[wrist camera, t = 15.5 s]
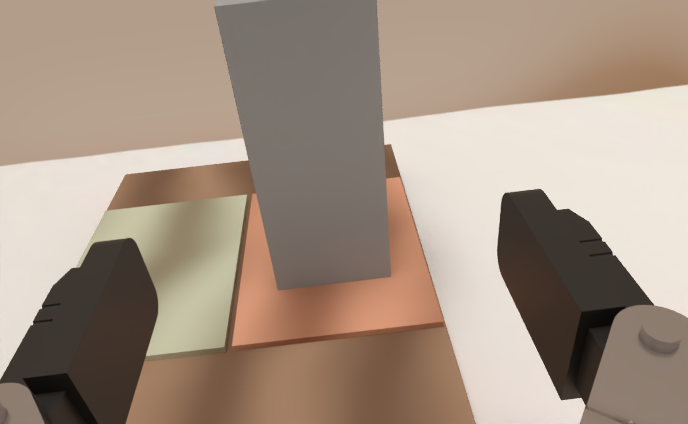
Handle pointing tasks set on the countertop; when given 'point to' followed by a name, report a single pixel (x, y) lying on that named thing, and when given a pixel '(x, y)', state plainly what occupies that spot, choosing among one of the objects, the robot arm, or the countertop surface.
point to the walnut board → (277, 315)
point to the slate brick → (312, 133)
